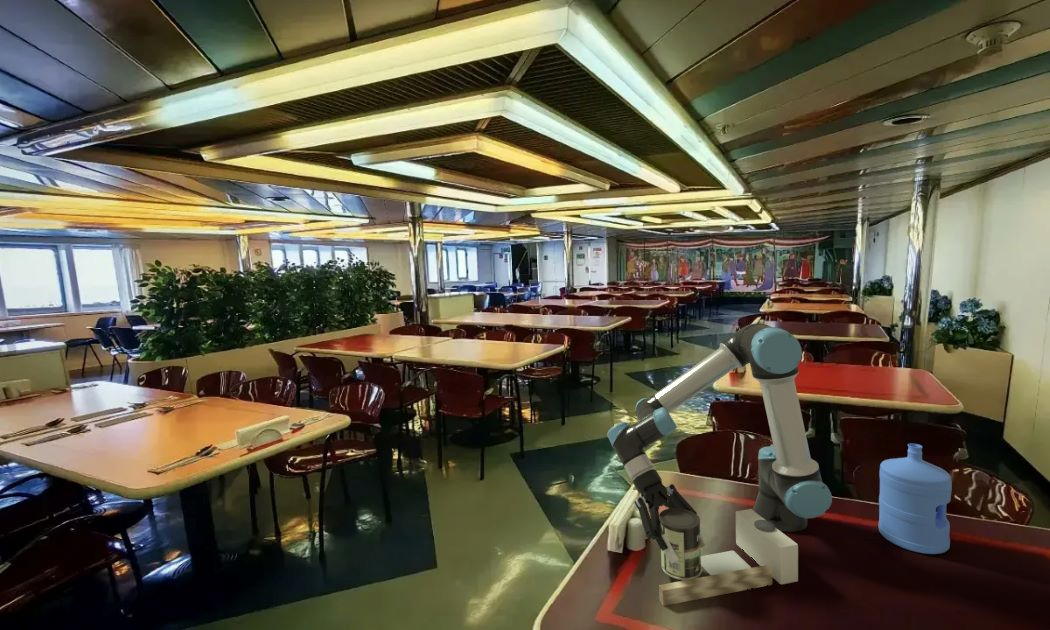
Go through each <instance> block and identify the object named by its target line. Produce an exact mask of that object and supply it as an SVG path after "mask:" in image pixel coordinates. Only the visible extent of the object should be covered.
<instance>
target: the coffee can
mask: <svg viewBox="0 0 1050 630" xmlns="http://www.w3.org/2000/svg"><path fill="white" fill-rule="evenodd" d="M659 520H660V527H661V536H662V535H663V534H665V536H666V537H667V539H668V541H669V543H670V544H671V546H672V548H673V550H674V551H675V553H676V555H677V557H678V558H679V560H678V561H676V562H674V563H672V564H671V562H670V560H669V559H668V557H667V555H666V553H665V551H662V550H661V549H660V556H661V558H660V559H661V569H662V570H663V572H664V573H665V574H666V575H668V576H669V577H670V578H672V579H676V580H679V581H684V580H689V579H695V578H700V576H701V574H702V566H701V556H702V554H701V553H702V552H701V548H700V533H701V527H700V525H701V518H700V516H699V515H698V513H697V514H695V513H694V512H692V511H689V510H686V509H682V508H665V509H664V510H662V511H660V513H659Z"/></svg>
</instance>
